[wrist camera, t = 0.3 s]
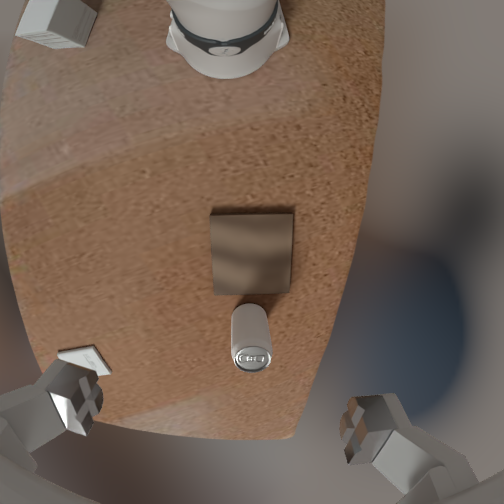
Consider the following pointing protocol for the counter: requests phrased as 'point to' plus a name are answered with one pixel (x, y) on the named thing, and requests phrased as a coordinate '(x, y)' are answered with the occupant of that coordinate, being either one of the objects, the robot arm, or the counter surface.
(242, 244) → the walnut board
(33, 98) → the counter surface
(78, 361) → the external hard drive
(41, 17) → the supplement box
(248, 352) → the can
